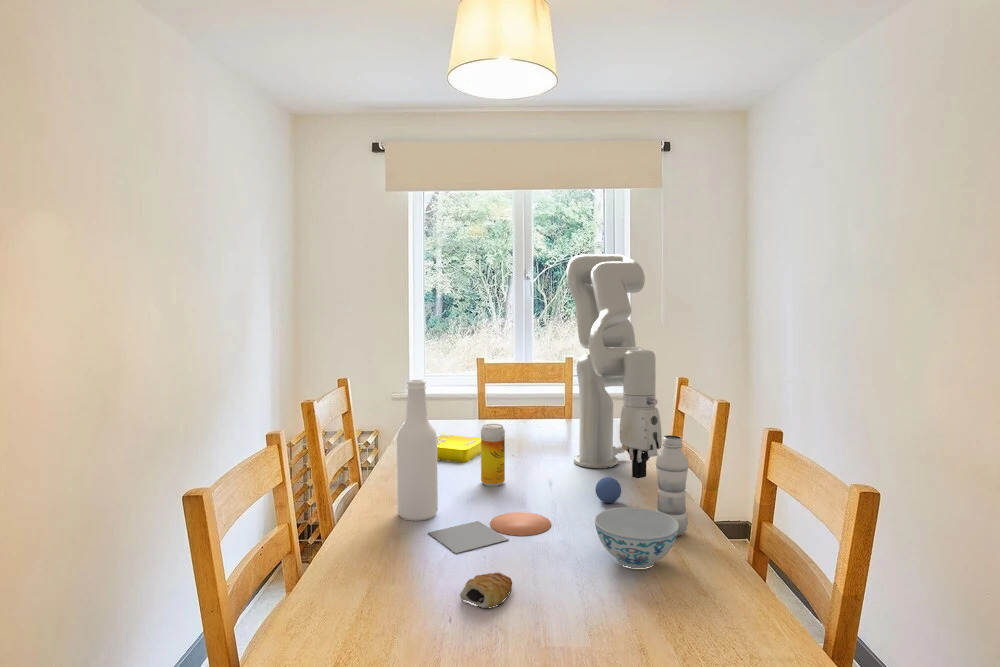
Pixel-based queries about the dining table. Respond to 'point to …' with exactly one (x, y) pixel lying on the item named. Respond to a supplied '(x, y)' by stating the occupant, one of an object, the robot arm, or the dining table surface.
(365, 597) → the dining table surface
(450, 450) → the element tile
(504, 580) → the pastry
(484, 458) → the beer can
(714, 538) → the dining table surface
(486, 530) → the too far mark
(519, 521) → the orange disc
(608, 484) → the ball
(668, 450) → the plastic bottle
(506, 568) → the dining table surface
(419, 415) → the alcohol
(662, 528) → the chinaware
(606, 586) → the dining table surface
